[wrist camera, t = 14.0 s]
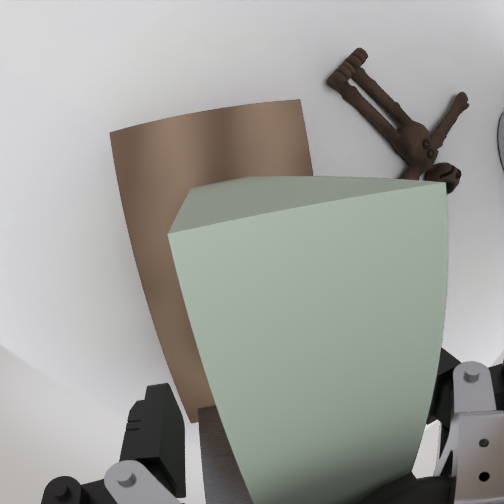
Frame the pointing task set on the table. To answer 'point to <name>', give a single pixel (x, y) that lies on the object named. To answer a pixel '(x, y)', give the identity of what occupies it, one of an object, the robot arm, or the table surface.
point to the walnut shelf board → (176, 190)
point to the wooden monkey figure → (410, 133)
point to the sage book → (317, 325)
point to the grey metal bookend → (219, 462)
